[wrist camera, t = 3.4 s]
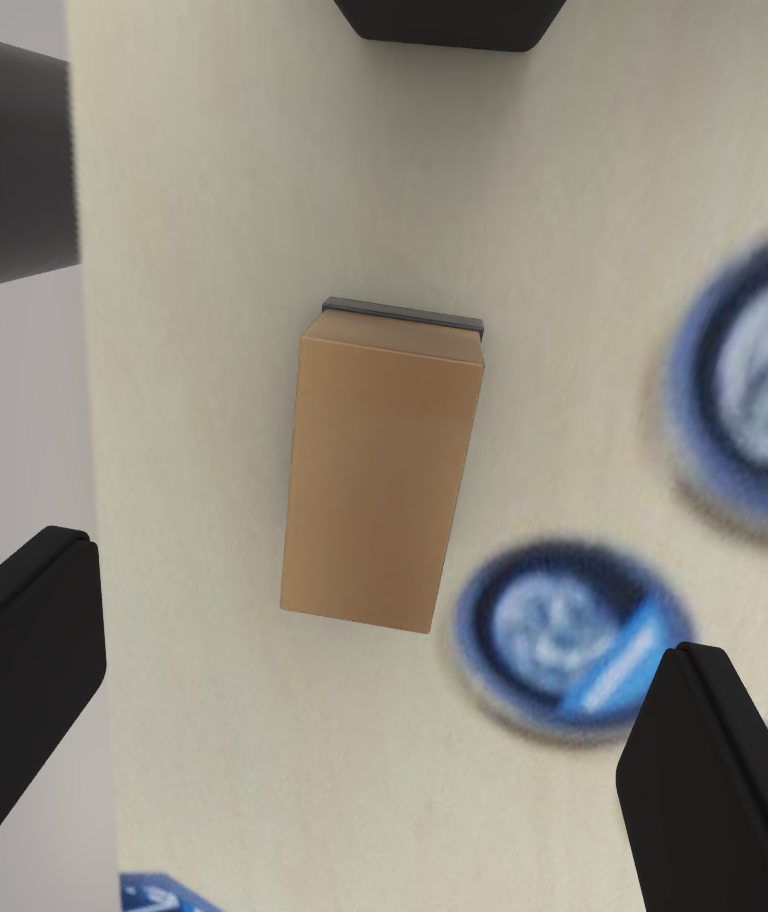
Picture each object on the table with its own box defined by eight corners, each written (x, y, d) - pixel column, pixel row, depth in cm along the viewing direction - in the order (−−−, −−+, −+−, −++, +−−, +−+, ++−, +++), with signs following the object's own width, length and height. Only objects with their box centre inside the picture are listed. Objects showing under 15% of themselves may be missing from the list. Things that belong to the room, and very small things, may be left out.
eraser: (306, 532, 20) (275, 612, 16) (329, 295, 17) (295, 329, 13) (435, 554, 20) (432, 639, 16) (482, 319, 17) (491, 360, 13)
